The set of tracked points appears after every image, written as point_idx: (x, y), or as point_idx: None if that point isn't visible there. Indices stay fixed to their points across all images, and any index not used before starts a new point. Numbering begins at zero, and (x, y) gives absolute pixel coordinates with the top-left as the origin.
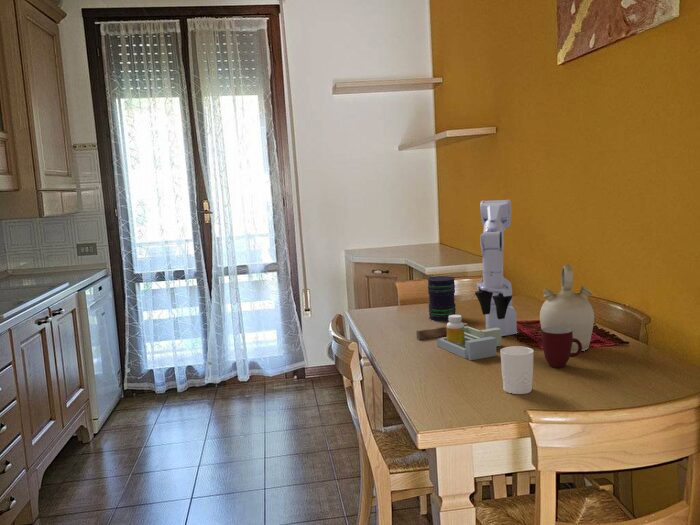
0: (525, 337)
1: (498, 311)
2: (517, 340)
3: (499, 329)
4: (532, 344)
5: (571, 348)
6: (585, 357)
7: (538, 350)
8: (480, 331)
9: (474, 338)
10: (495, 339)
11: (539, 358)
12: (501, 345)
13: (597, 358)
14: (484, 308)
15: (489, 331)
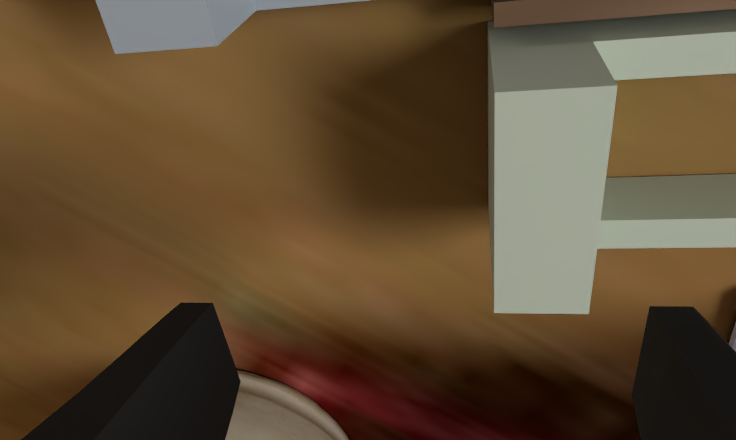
0: (582, 432)
1: (70, 403)
2: (550, 365)
3: (495, 295)
4: (398, 374)
5: None
6: (47, 408)
7: (247, 326)
8: (587, 81)
9: (718, 27)
10: (118, 39)
11: (61, 234)
12: (488, 207)
13: (23, 429)
14: (689, 422)
15: (493, 171)
